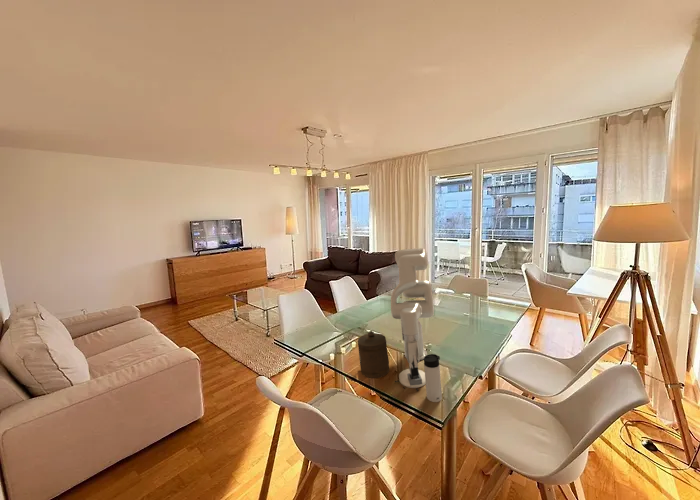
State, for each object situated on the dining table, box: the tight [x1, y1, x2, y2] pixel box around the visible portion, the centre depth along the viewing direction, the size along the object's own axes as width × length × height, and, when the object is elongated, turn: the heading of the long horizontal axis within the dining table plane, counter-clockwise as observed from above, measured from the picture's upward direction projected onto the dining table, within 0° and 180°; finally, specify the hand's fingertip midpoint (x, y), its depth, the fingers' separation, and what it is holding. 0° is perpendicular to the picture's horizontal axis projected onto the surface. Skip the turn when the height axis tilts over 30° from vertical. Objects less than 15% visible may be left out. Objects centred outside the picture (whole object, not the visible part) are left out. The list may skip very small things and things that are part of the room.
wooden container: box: [357, 330, 390, 379], centre depth 145 cm, size 15×15×22 cm
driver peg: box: [408, 363, 418, 379], centre depth 129 cm, size 3×3×11 cm
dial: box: [398, 368, 426, 389], centre depth 134 cm, size 13×13×4 cm
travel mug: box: [423, 353, 443, 403], centre depth 119 cm, size 6×7×20 cm
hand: (414, 372), depth 130 cm, fingers closed on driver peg, 3 cm apart
